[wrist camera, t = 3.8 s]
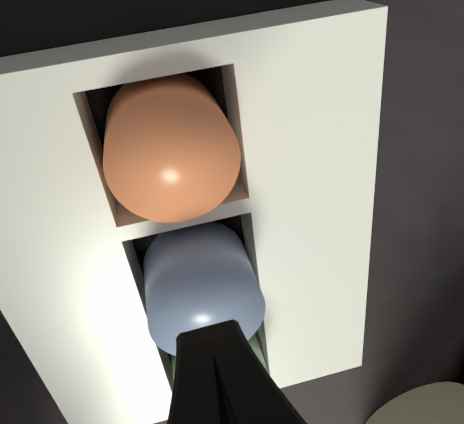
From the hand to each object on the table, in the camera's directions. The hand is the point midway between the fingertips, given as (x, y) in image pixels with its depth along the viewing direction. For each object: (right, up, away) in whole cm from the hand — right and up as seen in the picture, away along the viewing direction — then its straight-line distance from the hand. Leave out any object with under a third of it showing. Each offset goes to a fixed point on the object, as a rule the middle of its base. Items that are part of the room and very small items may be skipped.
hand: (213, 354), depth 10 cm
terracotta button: (-2, +6, +5) cm, 8 cm away
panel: (-1, +2, +8) cm, 9 cm away
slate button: (-1, +1, +7) cm, 7 cm away
